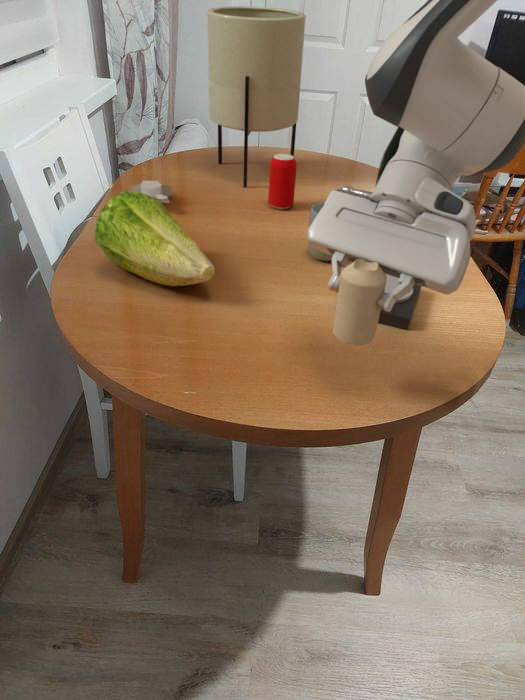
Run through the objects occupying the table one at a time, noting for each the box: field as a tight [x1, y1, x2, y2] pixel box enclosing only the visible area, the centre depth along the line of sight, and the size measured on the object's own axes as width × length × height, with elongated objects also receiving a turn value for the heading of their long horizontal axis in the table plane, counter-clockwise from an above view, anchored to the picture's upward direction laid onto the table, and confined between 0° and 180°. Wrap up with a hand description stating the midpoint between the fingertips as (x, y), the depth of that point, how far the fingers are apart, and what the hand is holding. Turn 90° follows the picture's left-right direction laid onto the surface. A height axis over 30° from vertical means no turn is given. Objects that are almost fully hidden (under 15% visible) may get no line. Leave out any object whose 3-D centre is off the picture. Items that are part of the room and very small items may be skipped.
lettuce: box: [94, 189, 215, 287], centre depth 91 cm, size 14×24×15 cm
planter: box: [206, 5, 307, 188], centre depth 135 cm, size 23×24×39 cm
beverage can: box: [267, 153, 298, 211], centre depth 123 cm, size 6×6×12 cm
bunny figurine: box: [130, 180, 172, 205], centre depth 123 cm, size 10×5×15 cm
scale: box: [378, 274, 422, 331], centre depth 90 cm, size 12×14×3 cm
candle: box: [332, 259, 387, 346], centre depth 65 cm, size 6×6×10 cm
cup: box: [307, 201, 333, 262], centre depth 102 cm, size 8×8×10 cm
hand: (357, 299), depth 64 cm, fingers closed on candle, 5 cm apart
